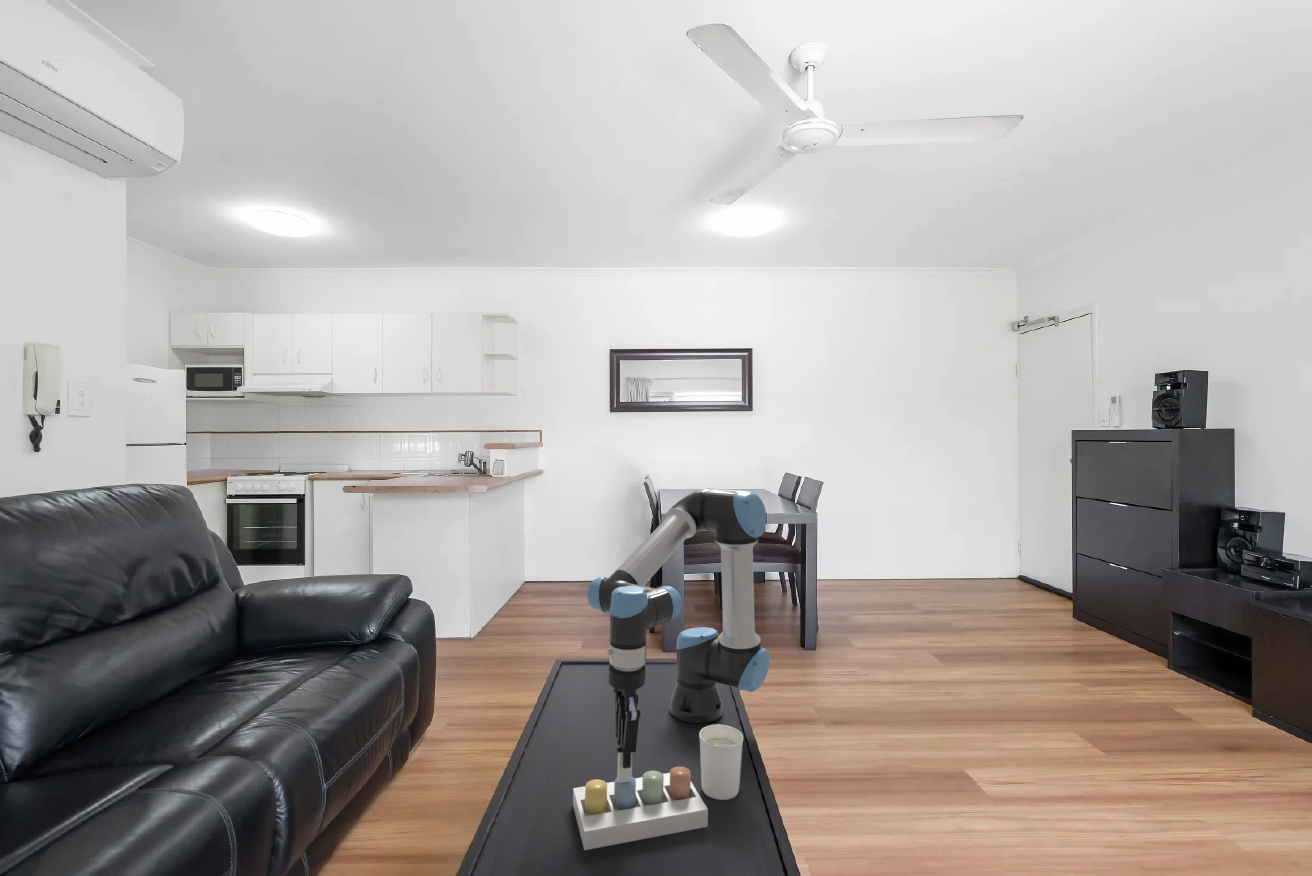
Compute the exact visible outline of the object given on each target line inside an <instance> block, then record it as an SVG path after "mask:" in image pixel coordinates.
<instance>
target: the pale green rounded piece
mask: <svg viewBox="0 0 1312 876" xmlns="http://www.w3.org/2000/svg"><path fill="white" fill-rule="evenodd" d="M663 774H664V773H662V772H660V771H657V770H648V771H646V772H644V773H643V774H642V777H643V779H642V800H643V802H644V803H646V804H648V805H654V804H660V803H661V802H662V801H663V785H664V776H663Z"/></svg>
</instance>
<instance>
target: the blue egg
mask: <svg viewBox="0 0 1312 876" xmlns="http://www.w3.org/2000/svg"><path fill="white" fill-rule="evenodd" d="M635 778H636V777H634V776H632V781H631V782H624V783H619V782H618V780H617V777H615V779H614V781H613V782H614V806H615V807H616V808H617V809H620V810H625V809H631V808H633V807H634V806H635V799H636V780H635Z"/></svg>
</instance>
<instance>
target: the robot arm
mask: <svg viewBox="0 0 1312 876" xmlns="http://www.w3.org/2000/svg"><path fill="white" fill-rule="evenodd" d="M765 506H766V505H765V504H764V502H763V500H762V499H761V497H760V496H759V495H758V494H757V493H754V492H752V491H745V490H737V489H735V490H734V489H718V488H717V489H715V488H703V489H699V490H696V491H693V492H692V493H689V494H688V495H686V496H685V497H683V498H681V499H680V500H678V501H677V502H675V504H674V505H672V506H671V507H670V508H669V509H668V511H667V512H666V513H665V518H664V520H663V521H662V522H661V523H660V524H659V525H658V526H657V527H656V529H655V530H653V531H652V533H650V535H648V536H647V538H646V539H645V540H644V541H643V542H642V543H641V544H640V545H639V546H638V547H637V548H636V549H635V550H634V551H633V552H632V553H631V554H630V555H629V556H628V557H627V558H626V559H625V561H624V562H623V563H621V564H620V565H619V566H618V568H617V569H616V570H615V571H614V572H613V573H611V575H610V576H609V577H604V576H603V577H596V578H594V579H593V580H592V581H591V583H590V584H589V585H588V588H587V592H586V593H587V594H586V595H587V596H586V597H587V601H588V605H589V606H590V607H591V608H592V609H595V610H596V611H599V612H602V613H604V614H609V615H610V617H609V619H610V621H609V625H610V626H609V630H610V631H609V635H610V636H609V648H608V649H607V650H606V654H607V655H609V656H608V657H609V664H610V665H608V684H609V686H610V687H612V688H613V695H614V696H613V697H614V720H615V721H614V723H615V724H614V725H615V736H614V737H615V739H617V741H616V743H617V746H618V747H616V752H617V770H616V771H617V775H616V778H617V780H618V782H619V783H624V782H631V781H632V777H633V753H636V751H637V742H638V733H639V732H638V731H639V722H640V718H641V714H642V713H641V710H640V709H638V703H639V695H638V694H637V690H638V689H640V688H642V687H644V685H645V684H646V663H647V662H646V661H647V630H651V629H652V628H654V627H658V626H661V625H663V624H666V623H669V622H671V621H672V620H674V619H675V618H677V617H678V616H679V615H680V614H681V611H682V608H683V602H682V601H683V600H682V597H681V594H680V593H679V592H678V590H677V589H676V588H674V587H673V586H670V585H664V586H662V585H661V586H660V585H659V586H658V587H656V588H654V587H650V586H645V585H647V583H648V582H649V581H650V579H652V578H653V576H655V574H656V573H657V572H658V571H659V570H660V568H661V567H662V566H663V565H664V564H665V563H666V562H667V561H668V559H669V558H670V557H671V556H672V555H673V554H674V552H676V550H677V549H678V548H679V547H681V545H682V544H683V543H684V542H685V540H686V539H689V538H692V537H694V536H695V535H696V533H698V532H702V531H703V532H704V531H706V532H707V531H708V532H714V541H715V543H716V544H718V546H719V547H720V563H721V564H720V565H721V566H720V567H721V568H720V571H721V572H720V573H721V602H722V605H721V606H722V608H721V609H722V631H721V633H720V634H719V633H718V630H717V629H715V628H713V627H709V626H708V627H707V626H706V627H704V626H702V627H699V626H698V627H691V628H688V629H685V630H683V631H681V632H680V633H679V634H678V636H677V640H676V641H677V643H676V648H675V649H676V679H675V680H676V682H675V686H674V689H673V692H672V695H671V698H670V700H669V712H670V713H671V716H673V717H674V718H675V719H677V720H680V721H683V722H686V723H691V724H706V723H707V724H708V723H712V722H714V721H717V720H719V719H720V718H721V717H722V716H723V702H722V699H721V698H722V697H721V695H720V692H719V688H718V684H721V685H724V686H727V687H731V688H734V689H738V691H745V692H749V693H755V692H756V691H758V690H759V689H760V688H761V687H762V686H763V683H764V682H765V680H766V677H767V675H768V671H769V667H770V658H771V657H770V653H769V651H768V650H767V649H766V648H764V647H762V644H761V643H762V642H761V636H760V635H759V634H758V633H756V629H755V628H756V625H755V624H756V623H755V587H754V579H755V578H754V549H753V548H754V546H755V545H756V544H757V543H758V542H759V537H762V535H763V534H764V532H765V530H766V525H767V511H766V507H765ZM720 716H721V717H720Z"/></svg>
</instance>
